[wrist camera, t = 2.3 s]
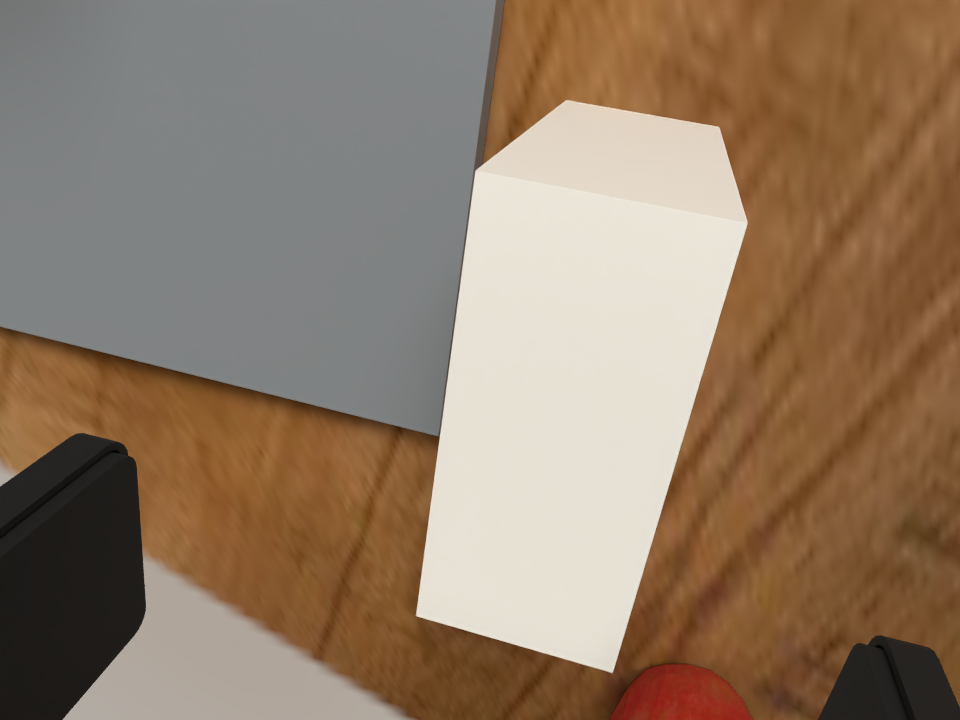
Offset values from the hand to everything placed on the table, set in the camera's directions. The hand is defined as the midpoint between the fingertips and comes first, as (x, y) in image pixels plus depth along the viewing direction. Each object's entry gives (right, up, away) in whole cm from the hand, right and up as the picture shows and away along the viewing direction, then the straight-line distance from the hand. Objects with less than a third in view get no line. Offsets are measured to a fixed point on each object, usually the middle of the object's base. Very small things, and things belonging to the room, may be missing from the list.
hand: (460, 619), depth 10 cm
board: (-9, +10, +14) cm, 19 cm away
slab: (+4, +6, +12) cm, 14 cm away
